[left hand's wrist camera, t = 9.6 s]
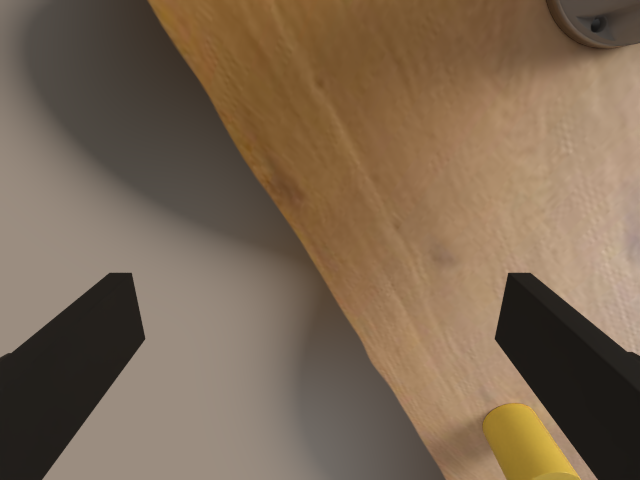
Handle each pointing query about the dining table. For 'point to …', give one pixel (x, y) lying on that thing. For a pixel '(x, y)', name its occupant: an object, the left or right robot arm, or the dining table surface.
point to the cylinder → (525, 445)
